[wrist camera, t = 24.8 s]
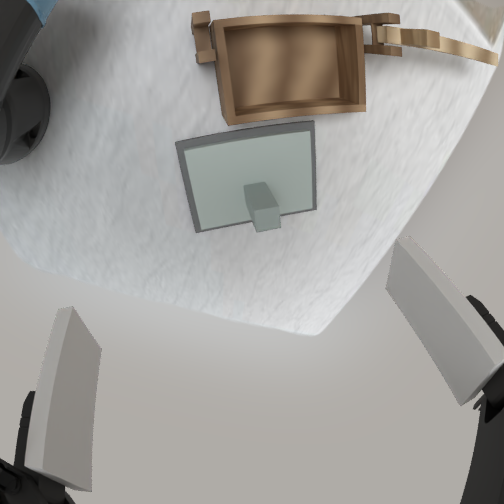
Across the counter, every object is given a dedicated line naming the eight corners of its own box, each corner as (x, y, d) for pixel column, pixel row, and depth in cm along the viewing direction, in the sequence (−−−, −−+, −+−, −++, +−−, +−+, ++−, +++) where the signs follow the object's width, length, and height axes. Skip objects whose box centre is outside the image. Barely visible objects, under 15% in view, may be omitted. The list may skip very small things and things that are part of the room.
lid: (201, 226, 49) (205, 261, 41) (184, 148, 41) (183, 171, 34) (309, 205, 50) (332, 234, 43) (307, 129, 42) (333, 147, 35)
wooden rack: (205, 118, 40) (211, 139, 30) (191, 26, 31) (192, 13, 22) (355, 102, 42) (401, 120, 32) (351, 19, 33) (399, 14, 24)
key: (377, 42, 29) (413, 44, 23) (376, 26, 28) (412, 25, 22) (488, 63, 31) (521, 73, 25) (488, 51, 30) (521, 60, 24)
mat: (195, 231, 50) (195, 233, 49) (175, 142, 41) (175, 143, 40) (315, 207, 51) (316, 209, 51) (312, 120, 42) (314, 121, 42)
